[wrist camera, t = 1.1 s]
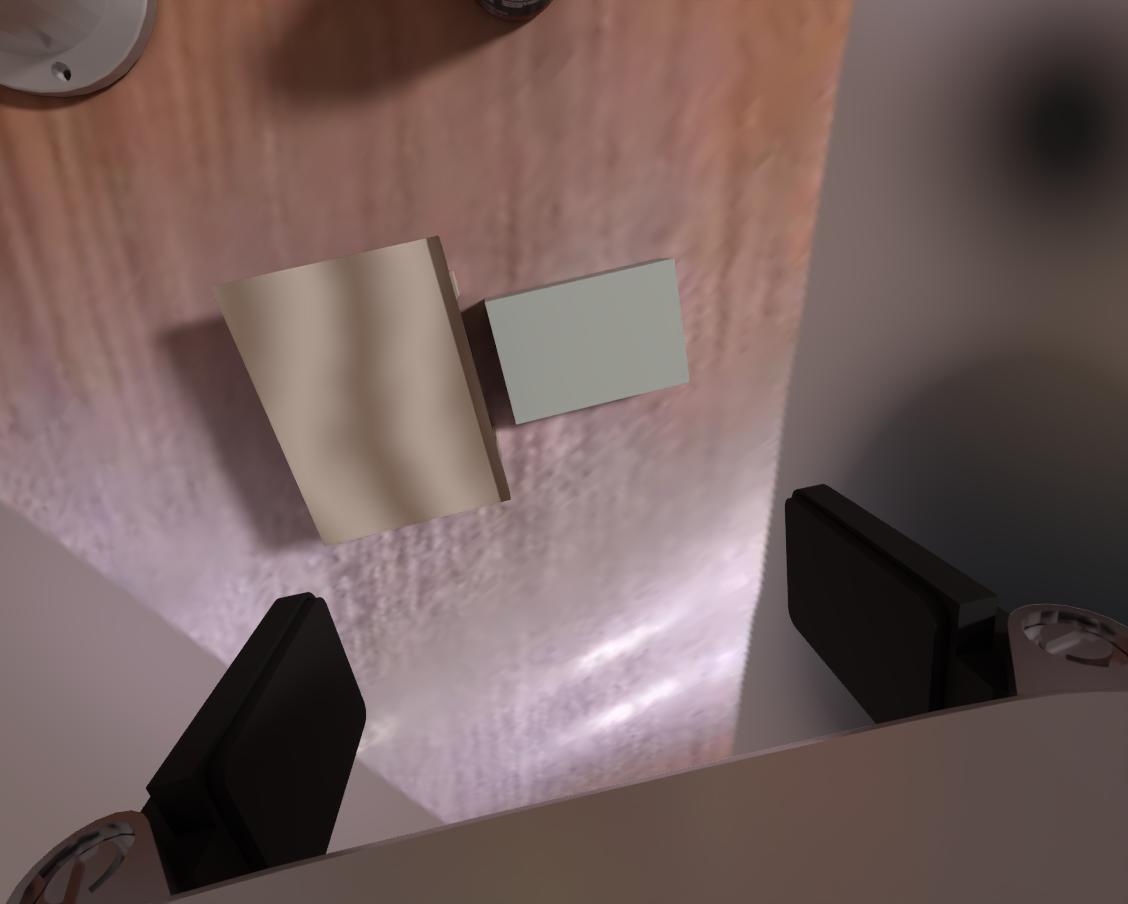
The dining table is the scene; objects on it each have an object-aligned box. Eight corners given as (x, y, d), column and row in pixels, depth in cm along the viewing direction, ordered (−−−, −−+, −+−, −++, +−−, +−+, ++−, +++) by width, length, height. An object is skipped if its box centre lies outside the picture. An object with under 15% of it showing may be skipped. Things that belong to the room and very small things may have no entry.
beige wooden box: (444, 239, 33) (437, 235, 28) (507, 467, 39) (510, 499, 34) (253, 282, 32) (209, 286, 27) (346, 508, 38) (324, 547, 33)
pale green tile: (484, 298, 35) (484, 302, 32) (659, 258, 35) (674, 258, 33) (513, 412, 38) (516, 424, 35) (674, 373, 38) (689, 381, 35)
